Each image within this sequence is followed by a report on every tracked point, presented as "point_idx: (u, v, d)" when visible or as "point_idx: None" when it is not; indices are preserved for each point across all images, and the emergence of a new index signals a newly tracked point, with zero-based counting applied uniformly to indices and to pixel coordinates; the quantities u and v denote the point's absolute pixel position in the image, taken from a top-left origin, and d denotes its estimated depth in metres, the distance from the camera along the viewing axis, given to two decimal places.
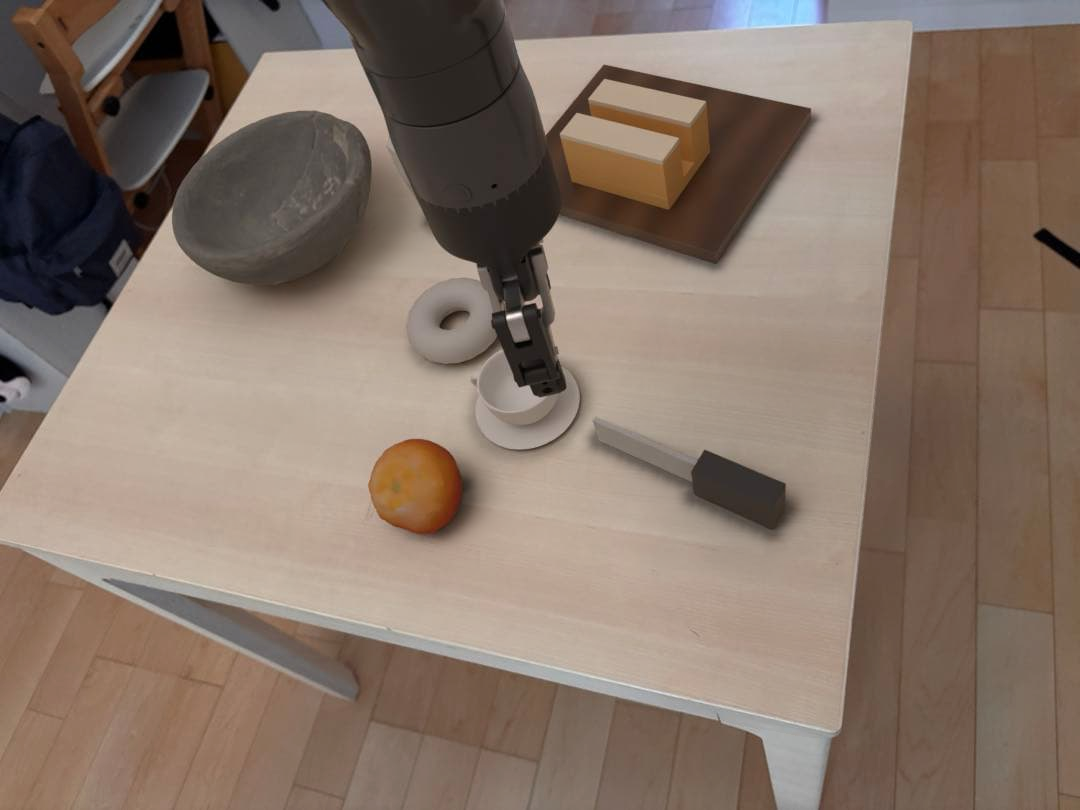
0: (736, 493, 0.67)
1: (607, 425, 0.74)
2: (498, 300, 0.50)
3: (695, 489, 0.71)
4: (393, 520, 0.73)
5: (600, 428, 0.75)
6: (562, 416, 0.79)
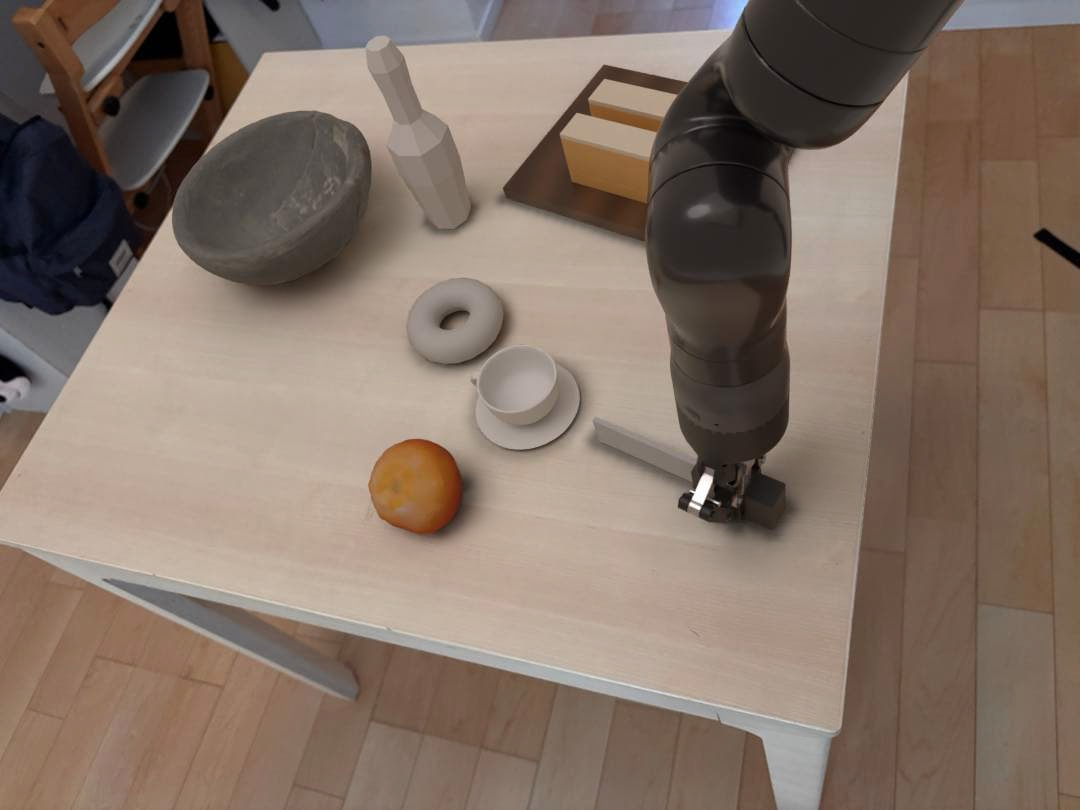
0: None
1: (607, 425, 0.74)
2: None
3: None
4: (393, 520, 0.73)
5: (600, 428, 0.75)
6: (562, 416, 0.79)
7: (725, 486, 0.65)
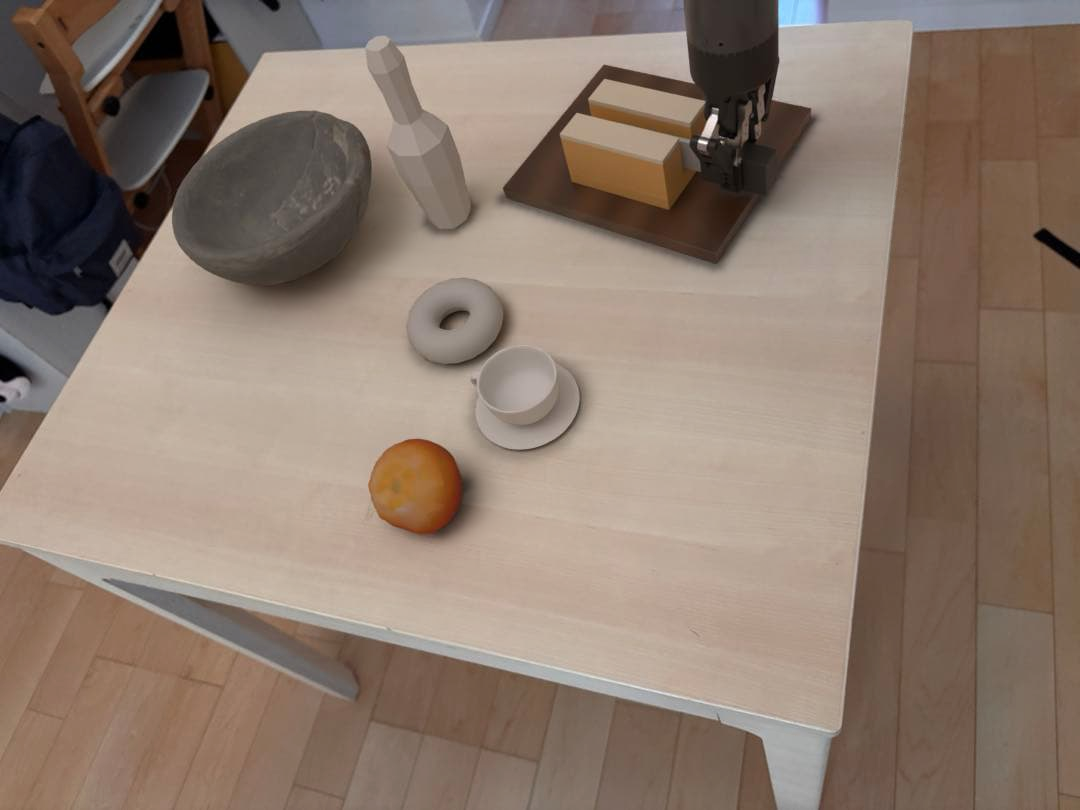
0: None
1: None
2: None
3: (702, 171, 0.86)
4: (393, 520, 0.73)
5: None
6: (561, 416, 0.79)
7: (727, 142, 0.79)
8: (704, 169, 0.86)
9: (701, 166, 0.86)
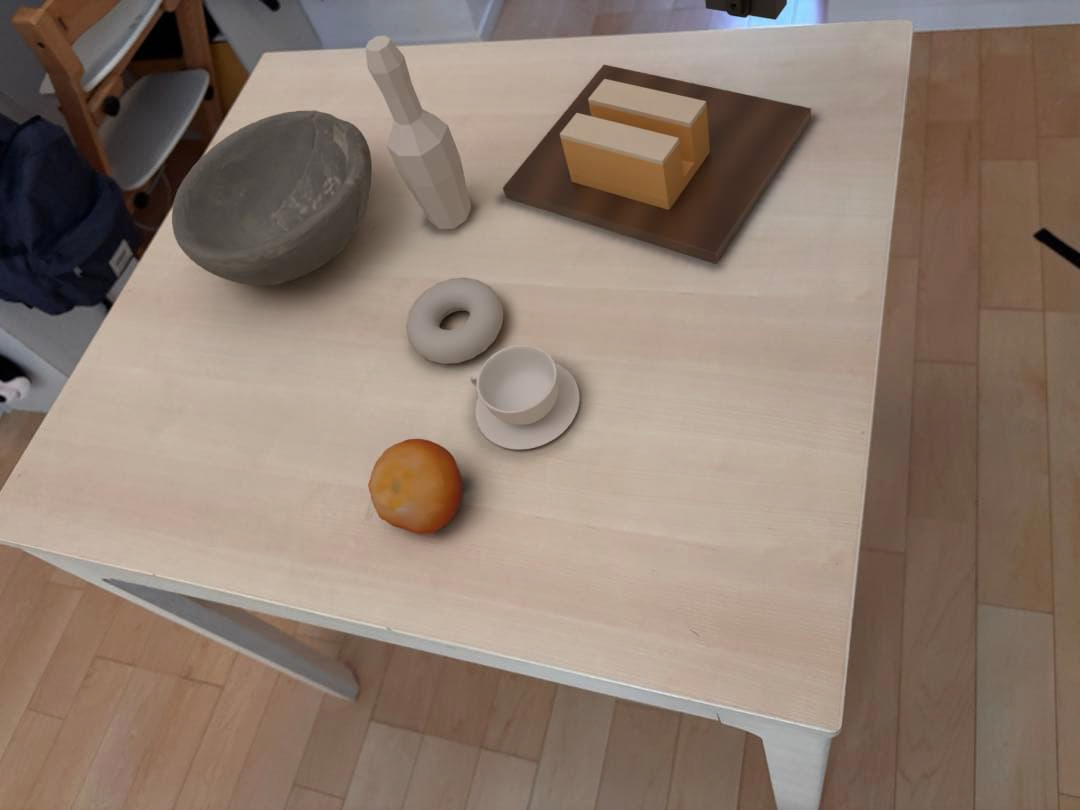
0: None
1: None
2: None
3: None
4: (393, 520, 0.73)
5: None
6: (561, 416, 0.79)
7: None
8: None
9: None
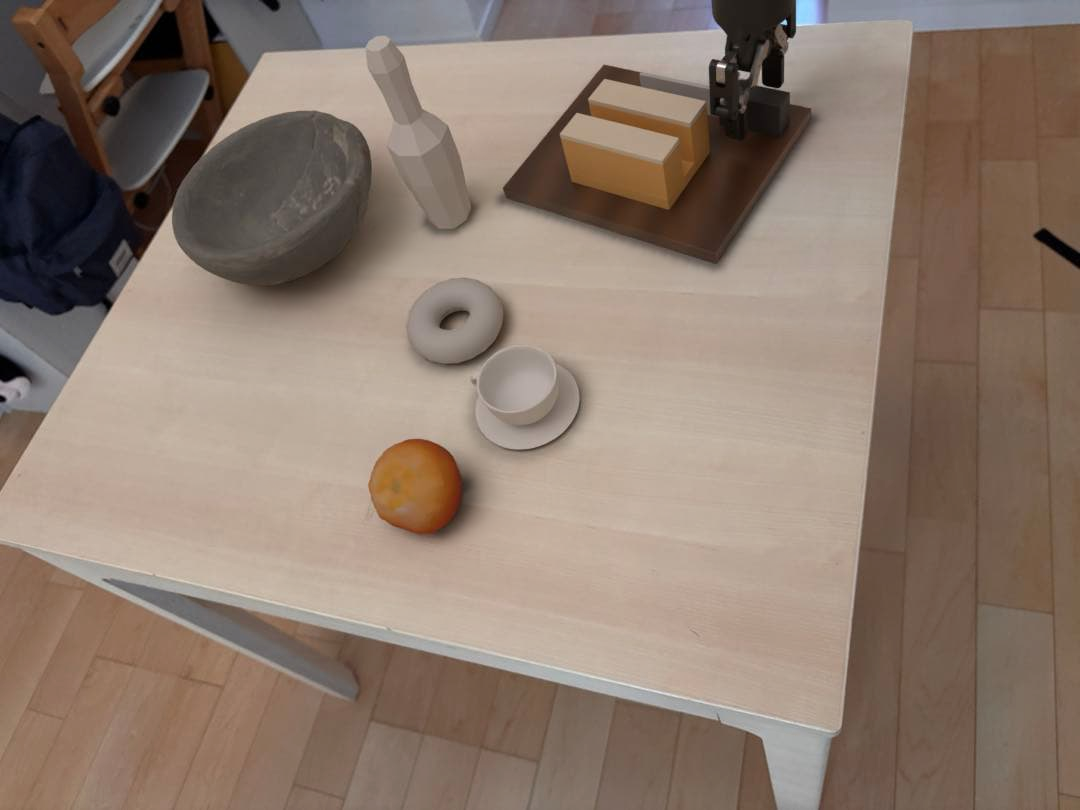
0: (752, 102, 0.89)
1: (651, 76, 0.95)
2: None
3: None
4: (393, 520, 0.73)
5: (645, 82, 0.96)
6: (561, 416, 0.79)
7: (738, 83, 0.84)
8: None
9: None
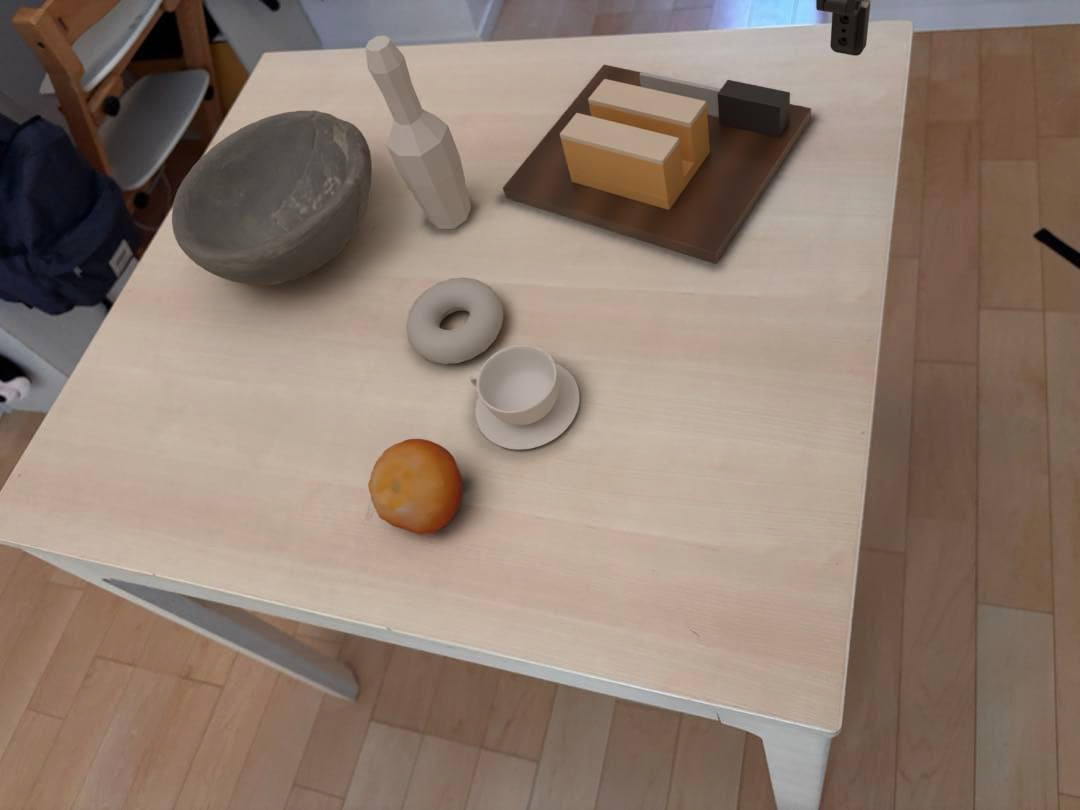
0: (752, 102, 0.89)
1: (651, 76, 0.95)
2: None
3: (720, 115, 0.93)
4: (393, 520, 0.73)
5: (645, 82, 0.96)
6: (561, 416, 0.79)
7: None
8: (722, 113, 0.92)
9: (719, 110, 0.92)
